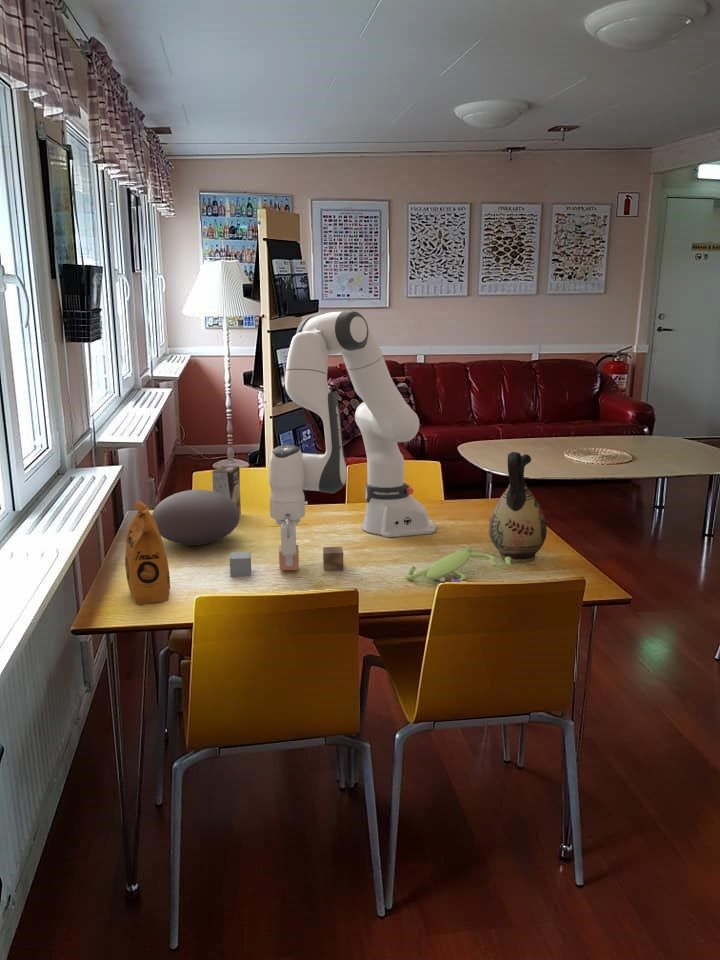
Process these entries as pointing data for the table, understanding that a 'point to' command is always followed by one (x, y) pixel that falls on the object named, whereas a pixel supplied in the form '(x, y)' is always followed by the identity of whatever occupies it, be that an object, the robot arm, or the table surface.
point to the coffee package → (146, 559)
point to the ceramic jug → (517, 516)
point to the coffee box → (228, 483)
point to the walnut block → (333, 558)
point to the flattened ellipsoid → (196, 517)
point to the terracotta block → (283, 563)
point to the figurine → (453, 566)
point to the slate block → (240, 564)
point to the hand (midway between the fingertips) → (289, 560)
